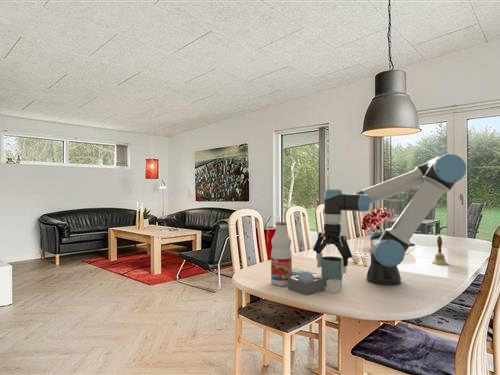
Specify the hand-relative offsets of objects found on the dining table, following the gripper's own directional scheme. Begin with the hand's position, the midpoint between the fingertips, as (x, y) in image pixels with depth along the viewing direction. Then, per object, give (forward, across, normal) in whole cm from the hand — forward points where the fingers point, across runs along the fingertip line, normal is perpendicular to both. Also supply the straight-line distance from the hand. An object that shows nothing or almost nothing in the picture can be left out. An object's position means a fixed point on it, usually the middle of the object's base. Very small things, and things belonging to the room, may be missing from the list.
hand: (331, 270), depth 156 cm
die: (+7, -7, +7) cm, 12 cm away
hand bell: (+6, -10, -85) cm, 86 cm away
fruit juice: (+7, +15, +17) cm, 23 cm away
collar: (+7, +2, +15) cm, 16 cm away
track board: (+7, +17, 0) cm, 18 cm away
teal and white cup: (+7, 0, 0) cm, 7 cm away
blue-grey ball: (+6, +2, +15) cm, 16 cm away
